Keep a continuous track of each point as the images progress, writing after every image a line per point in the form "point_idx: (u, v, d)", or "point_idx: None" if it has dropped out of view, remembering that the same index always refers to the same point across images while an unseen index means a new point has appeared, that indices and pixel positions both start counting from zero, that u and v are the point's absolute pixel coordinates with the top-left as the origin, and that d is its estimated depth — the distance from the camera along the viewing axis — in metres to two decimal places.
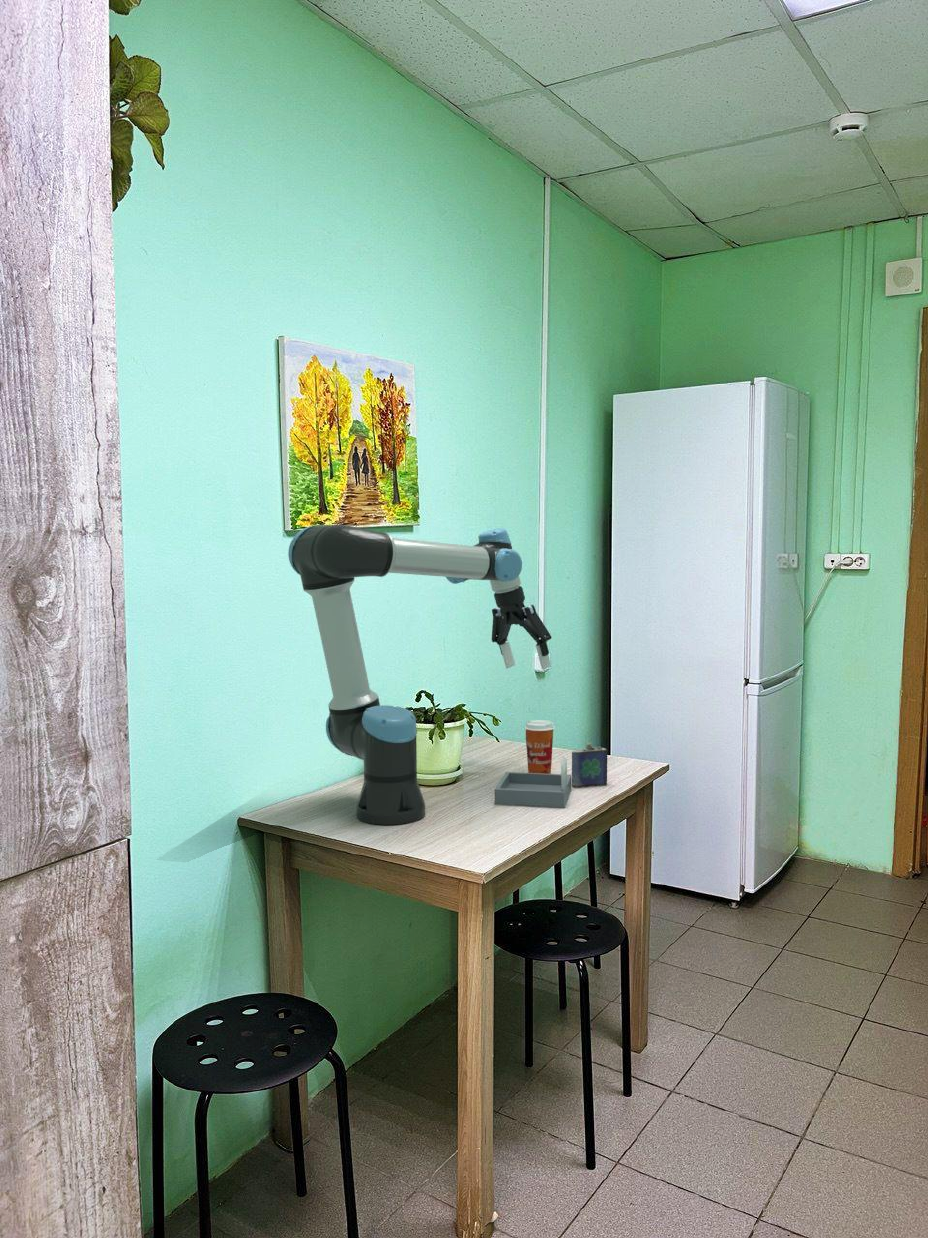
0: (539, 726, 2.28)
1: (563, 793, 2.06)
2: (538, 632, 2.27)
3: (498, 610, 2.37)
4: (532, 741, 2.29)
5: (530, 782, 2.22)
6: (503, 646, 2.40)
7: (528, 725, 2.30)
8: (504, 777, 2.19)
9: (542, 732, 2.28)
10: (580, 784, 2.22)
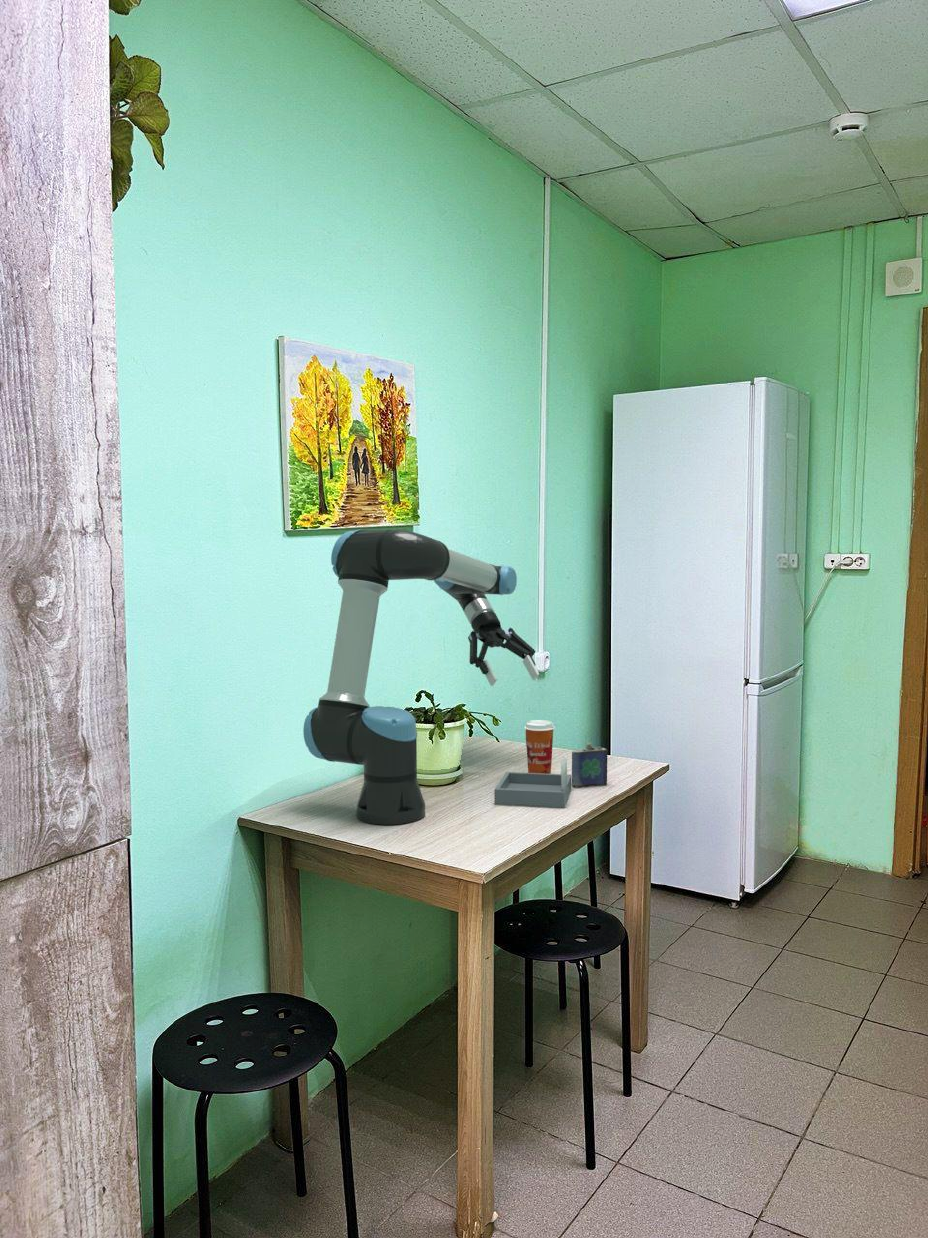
0: (539, 726, 2.28)
1: (563, 793, 2.06)
2: (527, 645, 2.49)
3: (475, 634, 2.45)
4: (532, 741, 2.29)
5: (530, 782, 2.22)
6: None
7: (528, 725, 2.30)
8: (504, 777, 2.19)
9: (542, 732, 2.28)
10: (580, 784, 2.22)
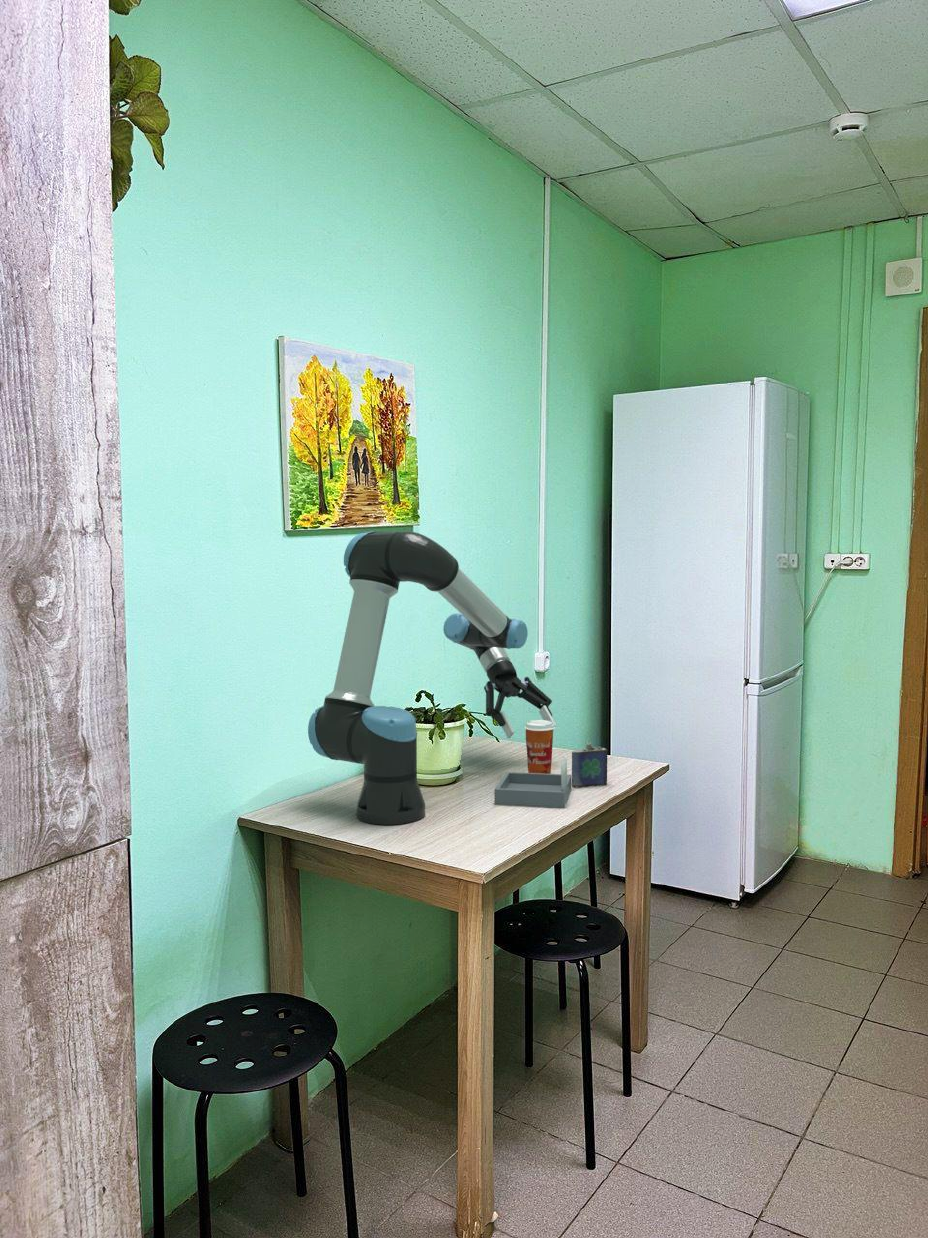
0: (539, 726, 2.28)
1: (563, 793, 2.06)
2: (543, 695, 2.45)
3: (492, 684, 2.42)
4: (532, 741, 2.29)
5: (530, 782, 2.22)
6: None
7: (528, 725, 2.30)
8: (504, 777, 2.19)
9: (542, 732, 2.28)
10: (580, 784, 2.22)
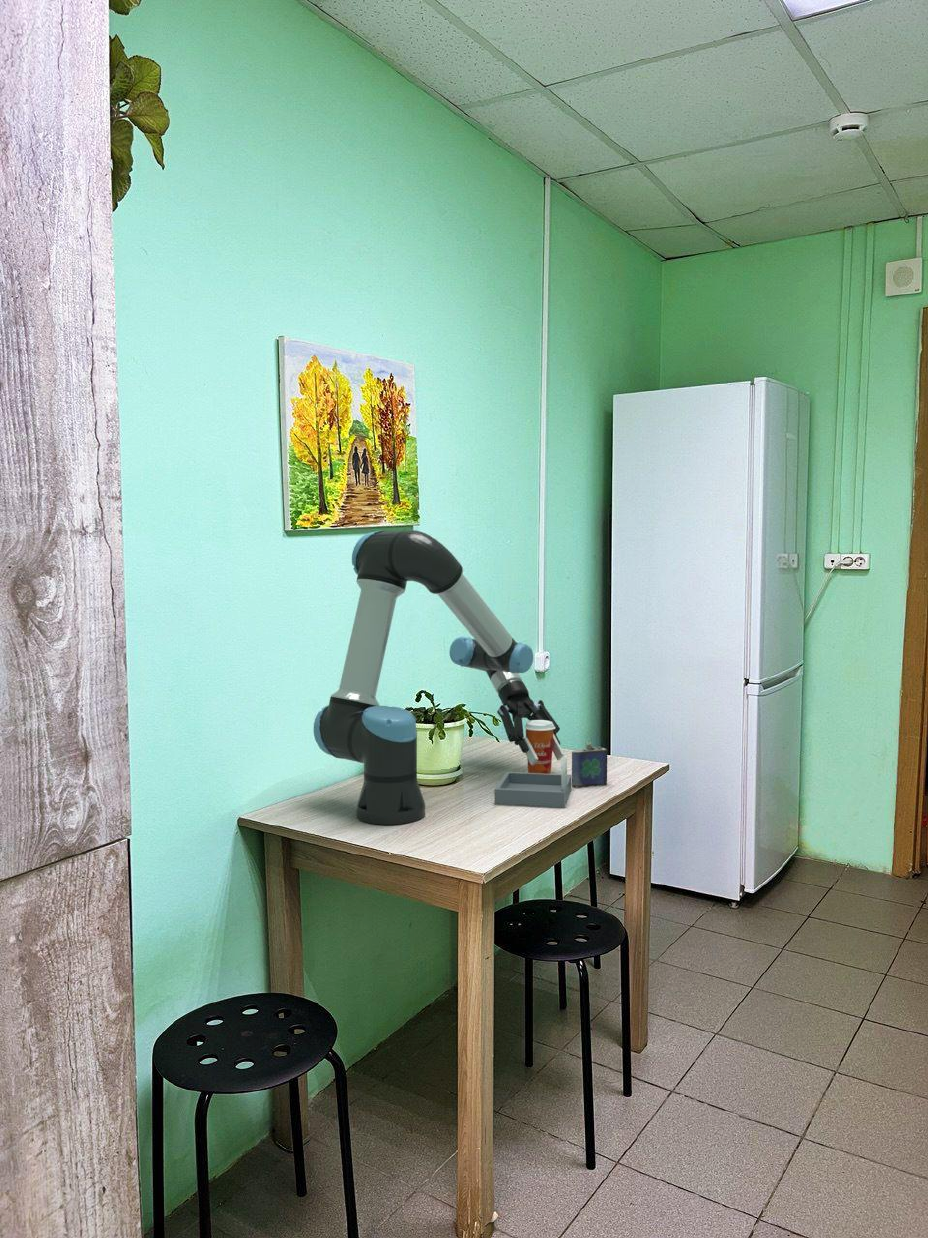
0: (539, 726, 2.28)
1: (563, 793, 2.06)
2: (553, 721, 2.38)
3: (504, 707, 2.35)
4: (532, 741, 2.29)
5: (530, 782, 2.22)
6: None
7: (528, 725, 2.30)
8: (504, 777, 2.19)
9: (542, 732, 2.28)
10: (580, 784, 2.22)
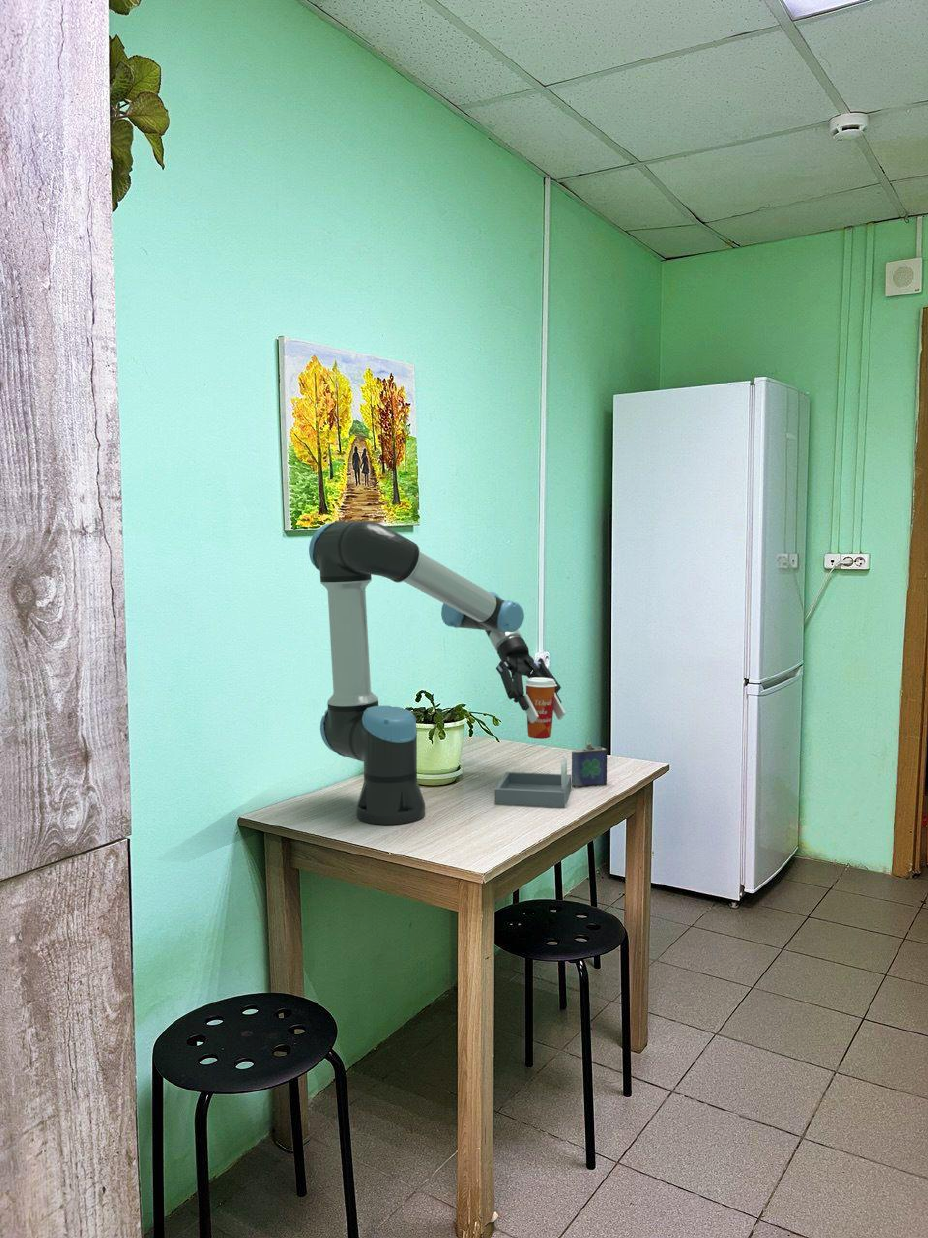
0: (540, 682, 2.18)
1: (563, 793, 2.06)
2: None
3: None
4: (532, 698, 2.19)
5: (530, 782, 2.22)
6: None
7: (529, 681, 2.20)
8: (504, 777, 2.19)
9: (543, 689, 2.18)
10: (580, 784, 2.22)
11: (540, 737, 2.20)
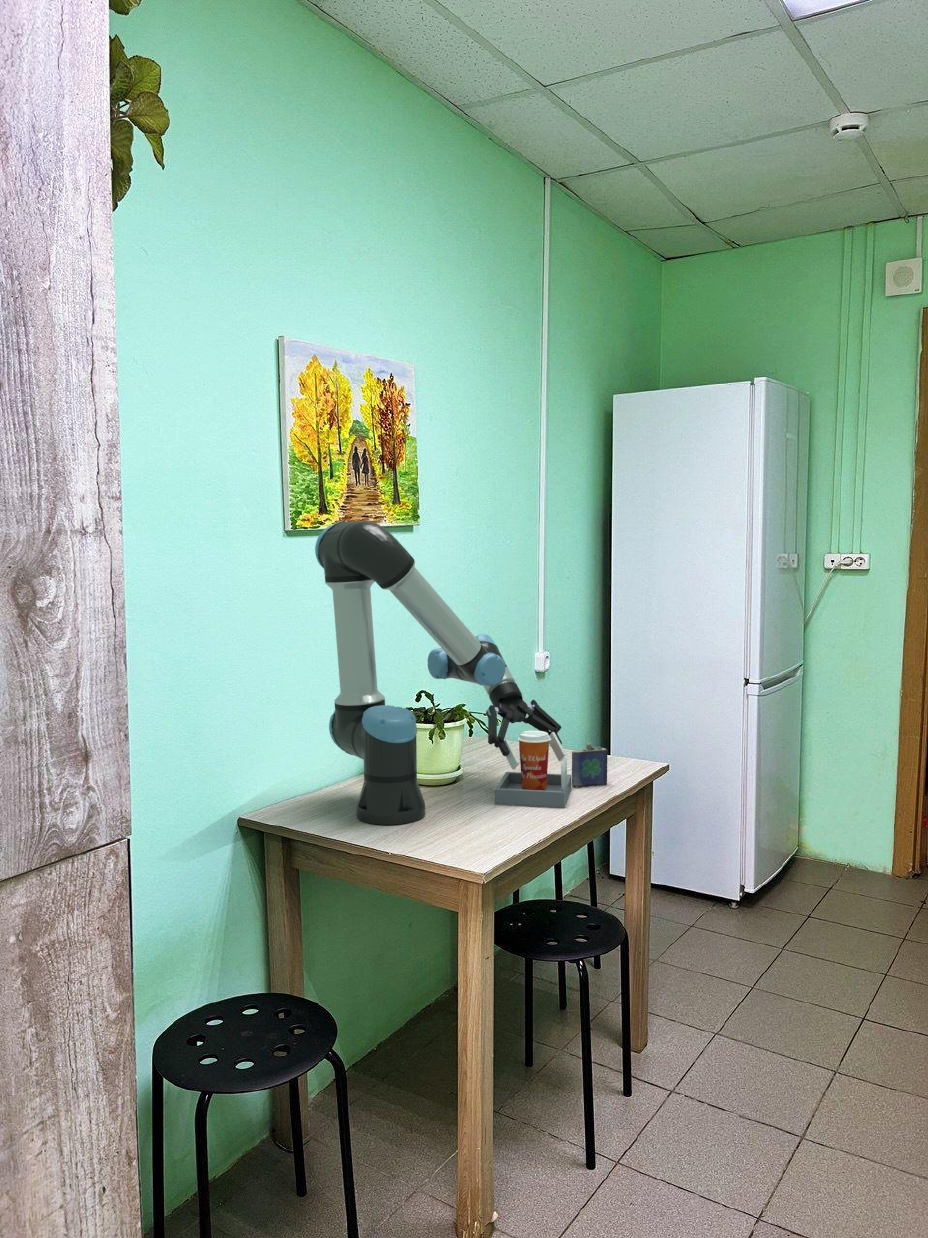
0: (534, 737, 2.11)
1: (563, 793, 2.06)
2: (552, 720, 2.22)
3: (494, 708, 2.18)
4: (526, 754, 2.12)
5: None
6: None
7: (522, 736, 2.12)
8: (504, 777, 2.19)
9: (537, 744, 2.11)
10: (580, 784, 2.22)
11: None
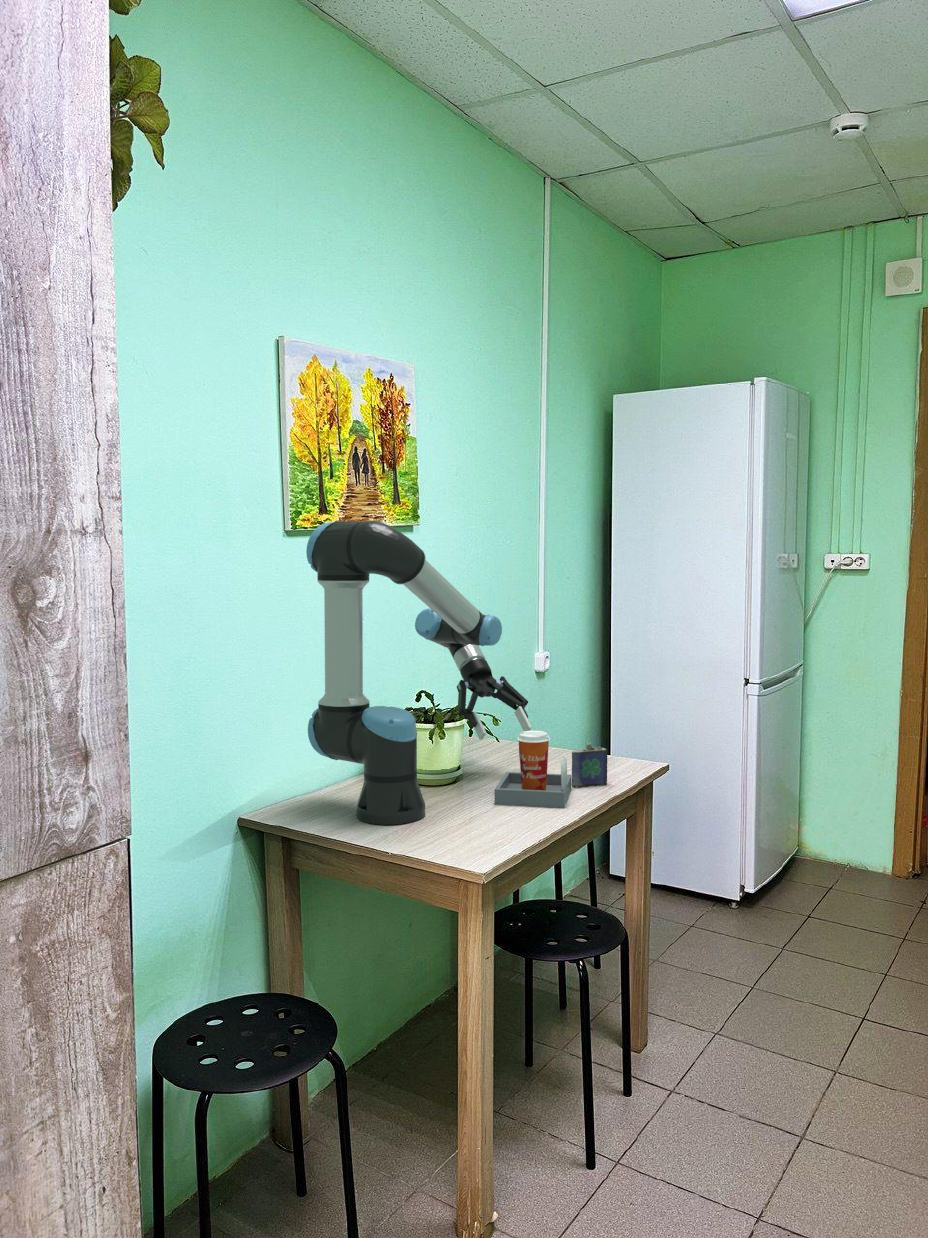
0: (533, 737, 2.11)
1: (563, 793, 2.06)
2: (519, 695, 2.34)
3: (465, 683, 2.30)
4: (525, 754, 2.12)
5: None
6: None
7: (521, 736, 2.12)
8: (504, 777, 2.19)
9: (536, 744, 2.11)
10: (580, 784, 2.22)
11: None
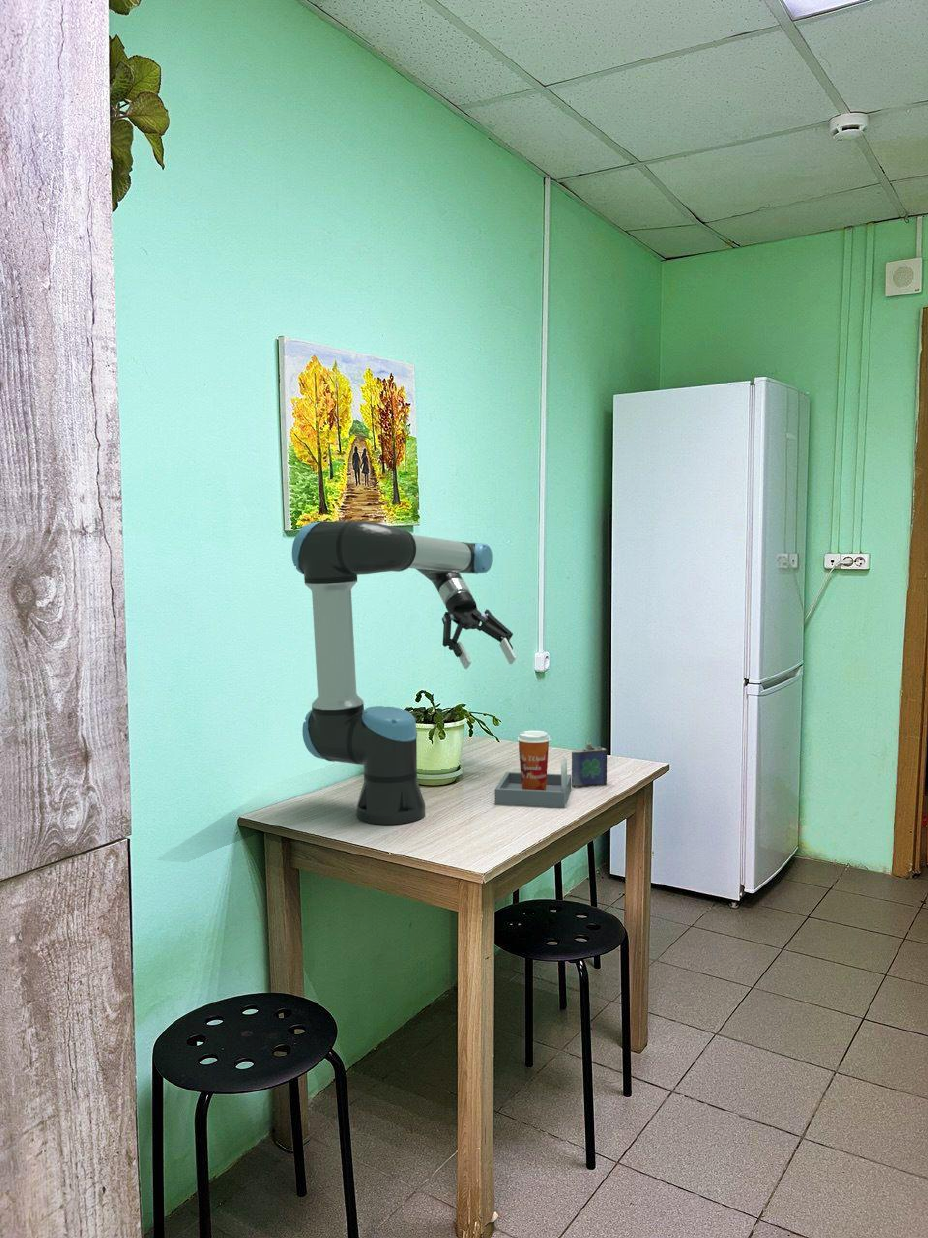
0: (534, 738, 2.11)
1: (563, 793, 2.06)
2: (504, 628, 2.36)
3: (450, 615, 2.33)
4: (526, 754, 2.12)
5: None
6: None
7: (522, 736, 2.12)
8: (504, 777, 2.19)
9: (537, 744, 2.11)
10: (580, 784, 2.22)
11: None
